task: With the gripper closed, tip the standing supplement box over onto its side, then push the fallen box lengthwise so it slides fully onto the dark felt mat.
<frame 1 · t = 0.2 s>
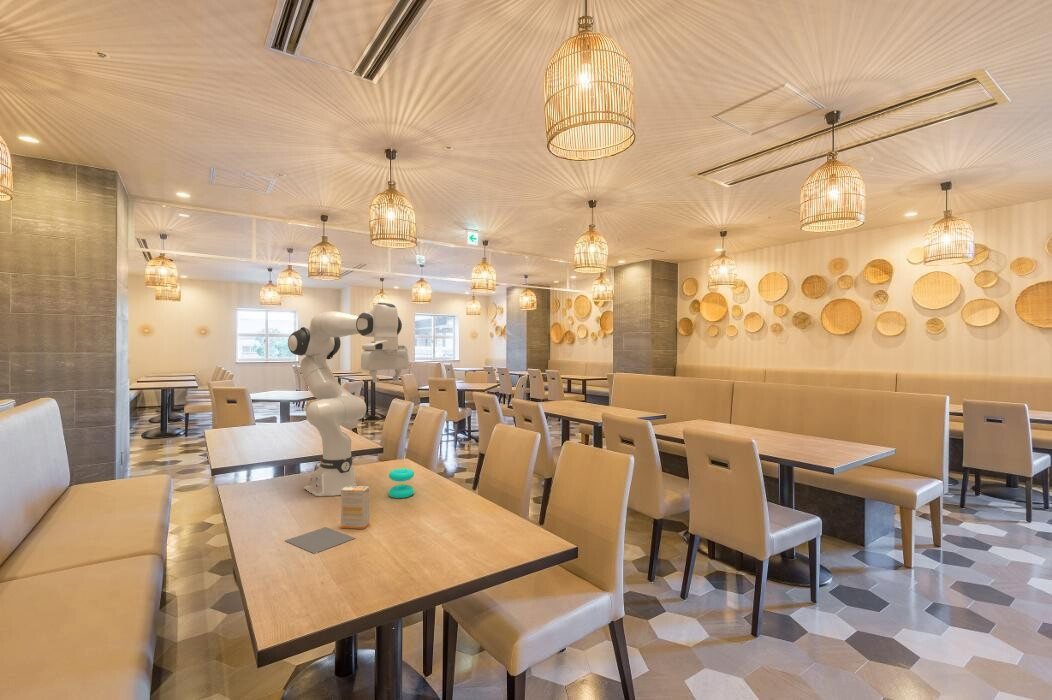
hand: (385, 381, 184), 47 cm above the table, tool pointing down, fingers open, 8 cm apart
supplement box: (355, 526, 163), on the table
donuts: (401, 495, 198), on the table
felt mat: (320, 539, 152), on the table
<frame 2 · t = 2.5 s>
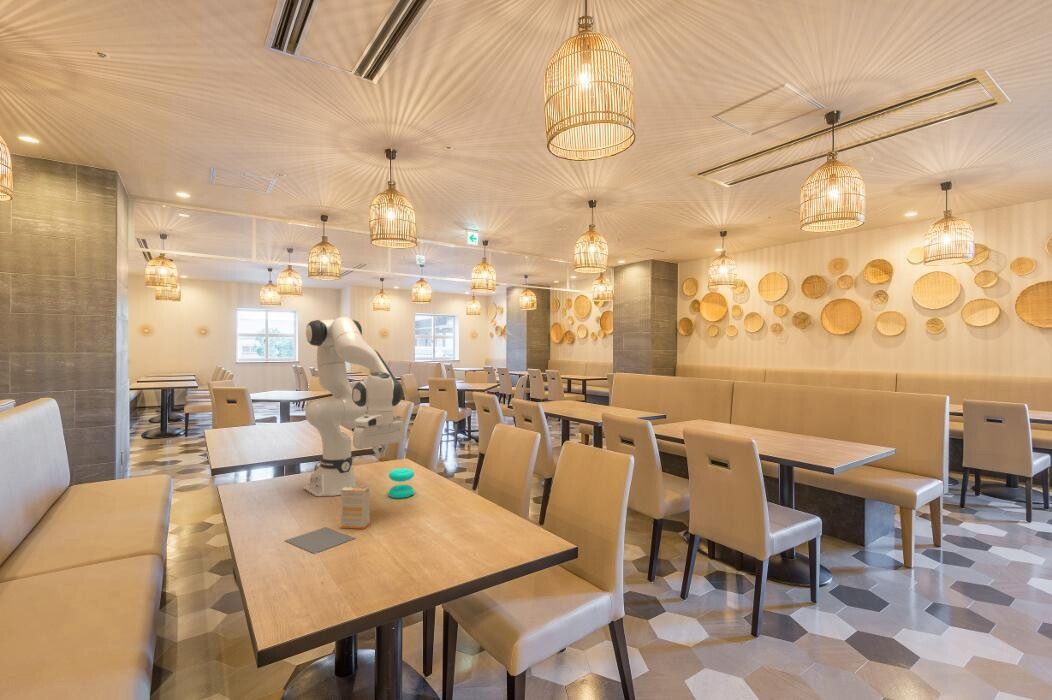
hand: (380, 457, 171), 21 cm above the table, tool pointing down, fingers closed
nothing on the table moved.
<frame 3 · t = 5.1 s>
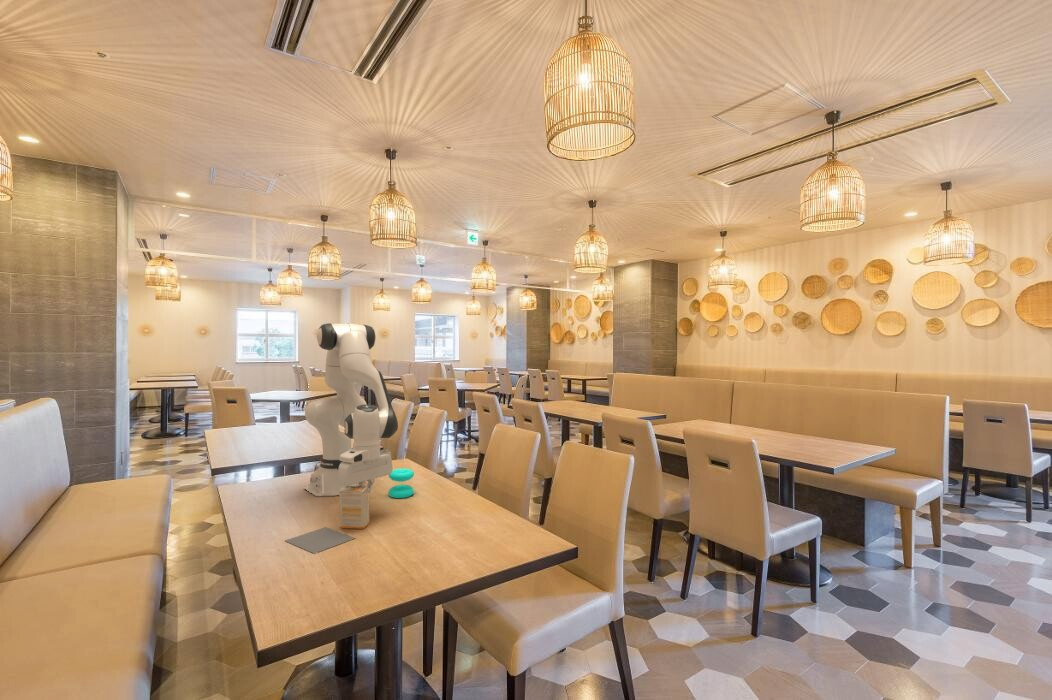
hand: (366, 492, 167), 10 cm above the table, tool pointing down, fingers closed
supplement box: (355, 526, 163), on the table, touching gripper
everything else where it was.
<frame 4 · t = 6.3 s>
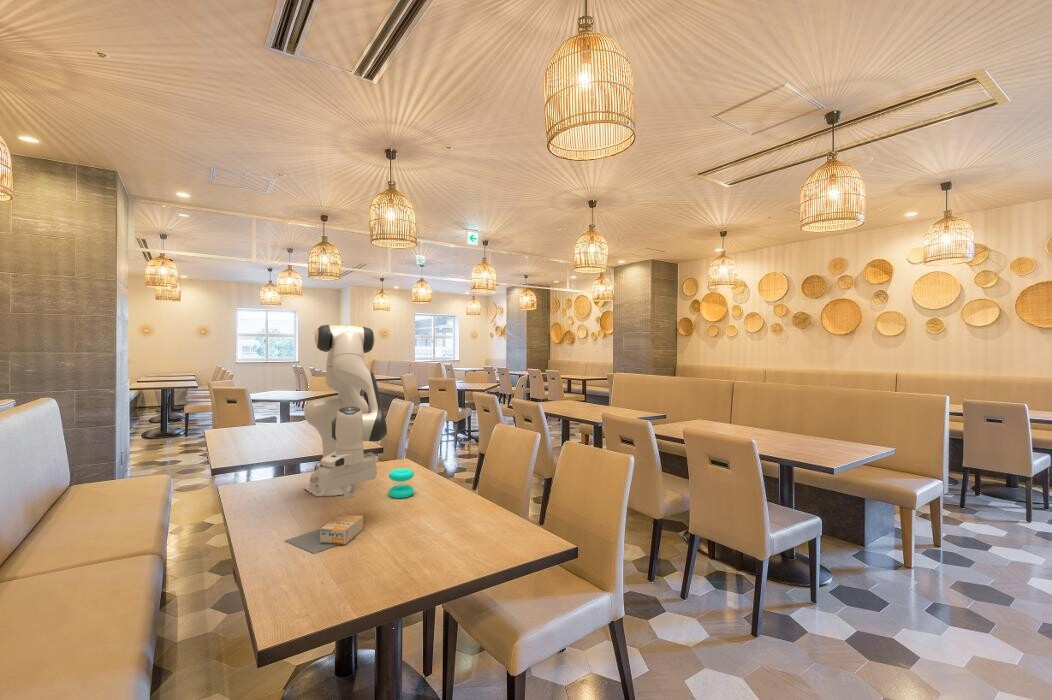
hand: (349, 498, 161), 10 cm above the table, tool pointing down, fingers closed
supplement box: (352, 521, 161), point 3 cm above the table, touching felt mat
everything else where it was.
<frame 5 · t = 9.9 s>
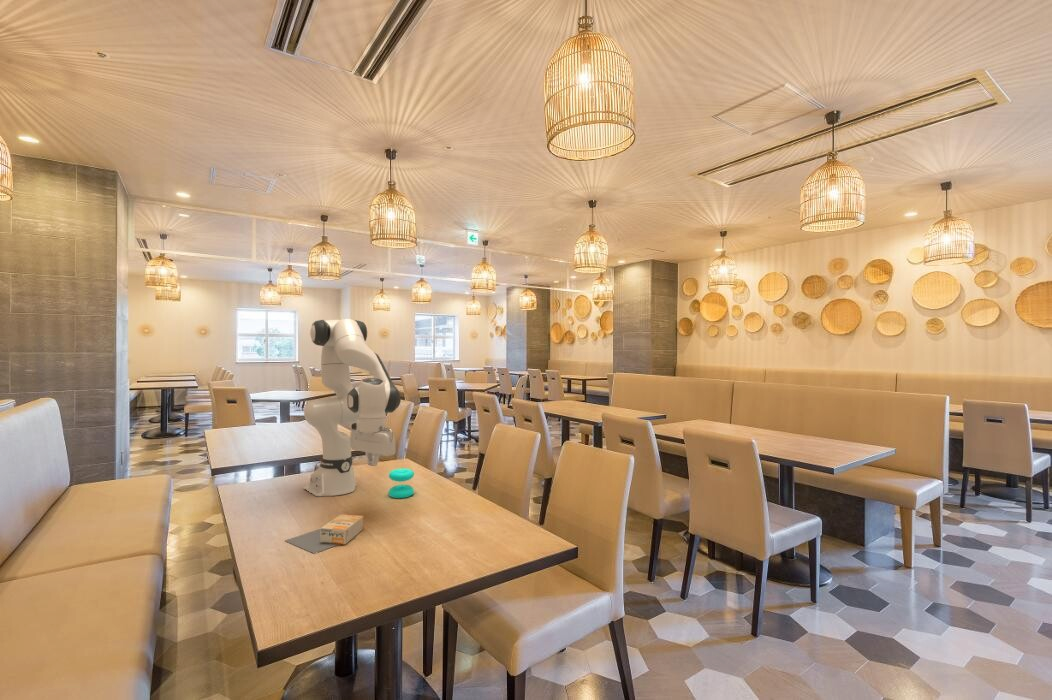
hand: (372, 465, 167), 19 cm above the table, tool pointing down, fingers closed
nothing on the table moved.
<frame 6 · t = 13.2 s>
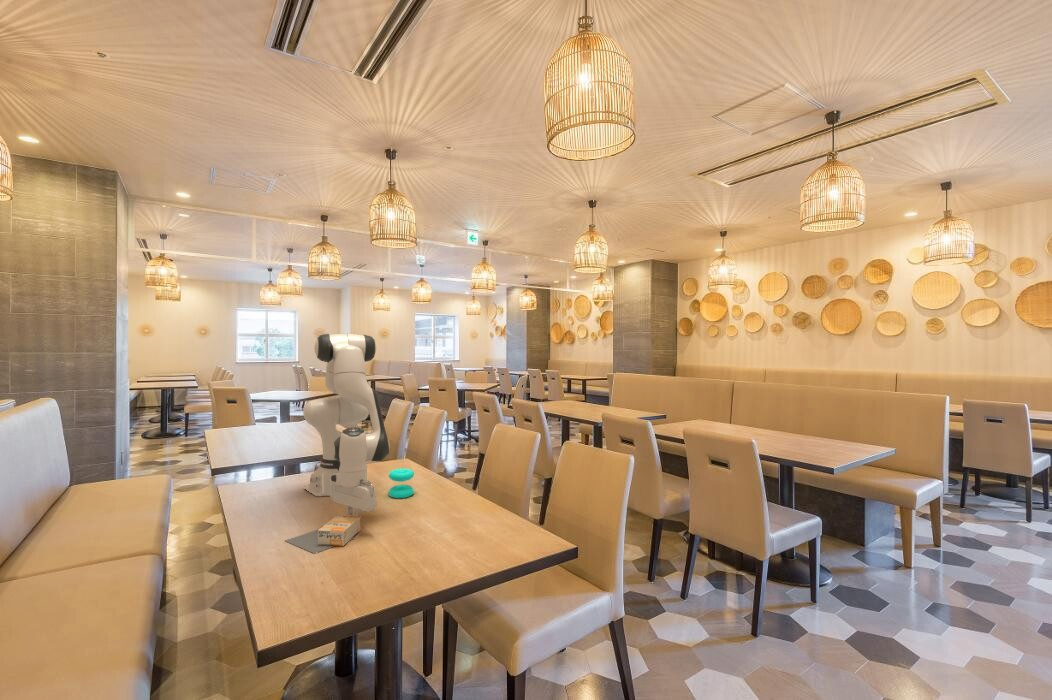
hand: (352, 519, 161), 3 cm above the table, tool pointing down, fingers closed
supplement box: (348, 522, 160), point 3 cm above the table, touching gripper
everything else where it was.
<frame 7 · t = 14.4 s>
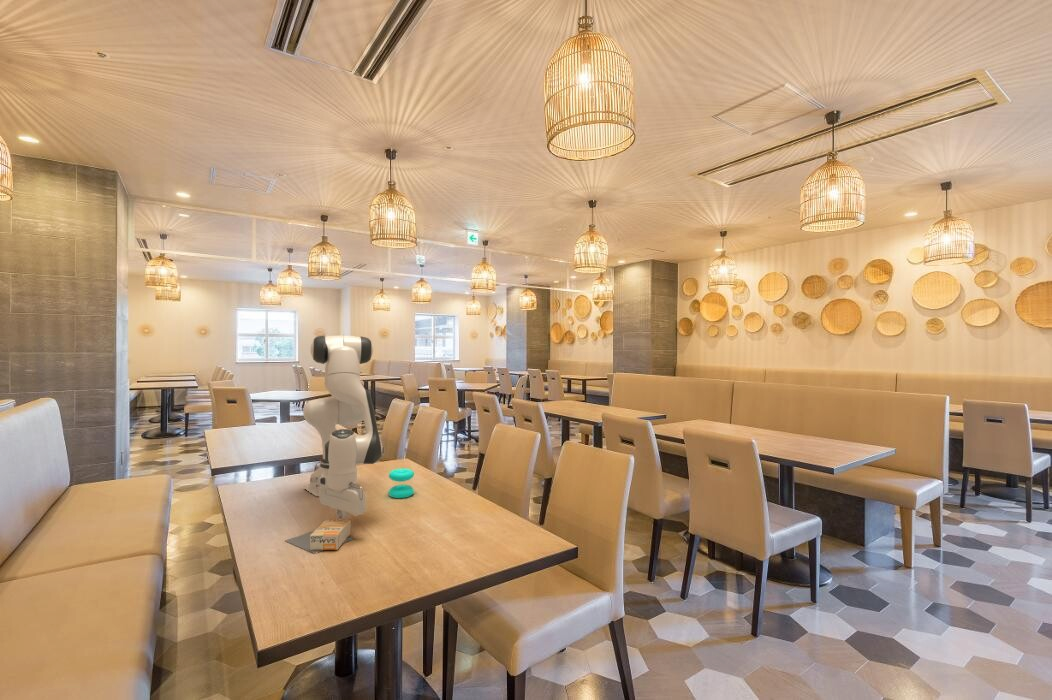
hand: (342, 522, 158), 3 cm above the table, tool pointing down, fingers closed
supplement box: (338, 525, 157), point 3 cm above the table, touching felt mat, gripper
everything else where it was.
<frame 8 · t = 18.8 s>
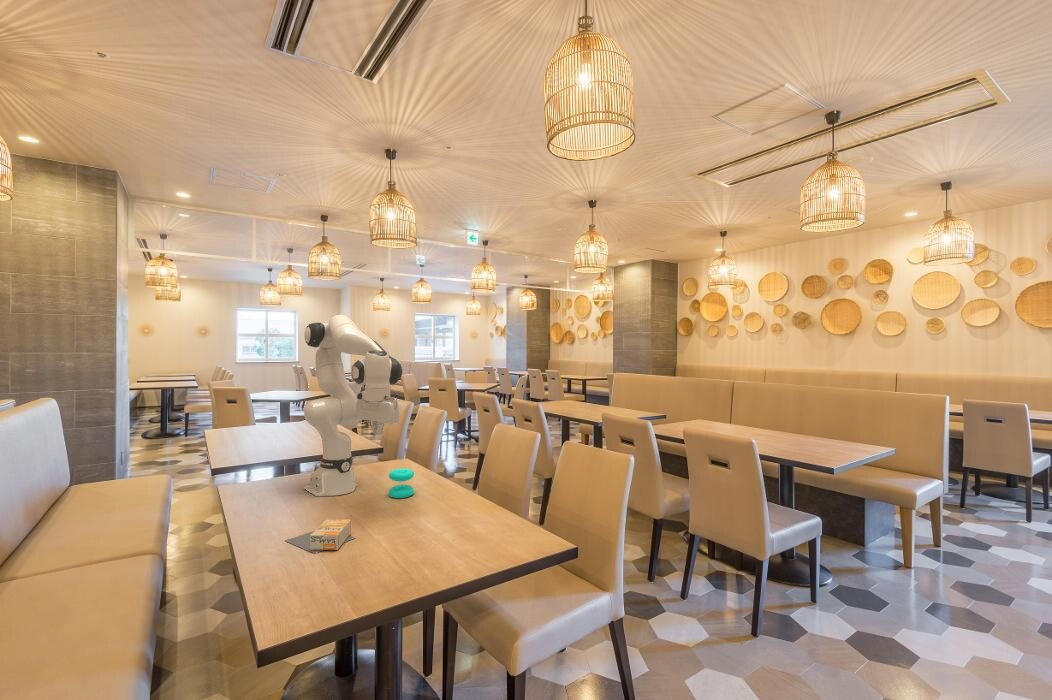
hand: (377, 433, 175), 29 cm above the table, tool pointing down, fingers closed
supplement box: (338, 525, 157), point 3 cm above the table, touching felt mat
everything else where it was.
at the end: supplement box tilted 90°; supplement box inside the target area (1.5 cm from its centre), point 2.6 cm above the table; supplement box moved 7.9 cm from its start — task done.
